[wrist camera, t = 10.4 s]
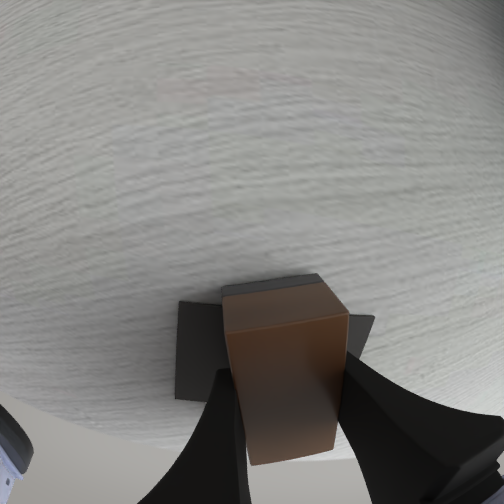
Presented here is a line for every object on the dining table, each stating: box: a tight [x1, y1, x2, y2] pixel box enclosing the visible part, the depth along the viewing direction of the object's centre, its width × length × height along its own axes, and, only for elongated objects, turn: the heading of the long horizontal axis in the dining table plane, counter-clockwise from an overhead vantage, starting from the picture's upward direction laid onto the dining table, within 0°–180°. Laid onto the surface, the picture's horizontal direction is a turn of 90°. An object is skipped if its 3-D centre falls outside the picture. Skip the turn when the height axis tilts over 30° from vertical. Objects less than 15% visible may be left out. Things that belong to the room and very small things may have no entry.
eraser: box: [221, 273, 349, 466], centre depth 10 cm, size 7×4×3 cm, turn 6°
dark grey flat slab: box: [175, 301, 375, 402], centre depth 12 cm, size 5×8×1 cm, turn 80°
